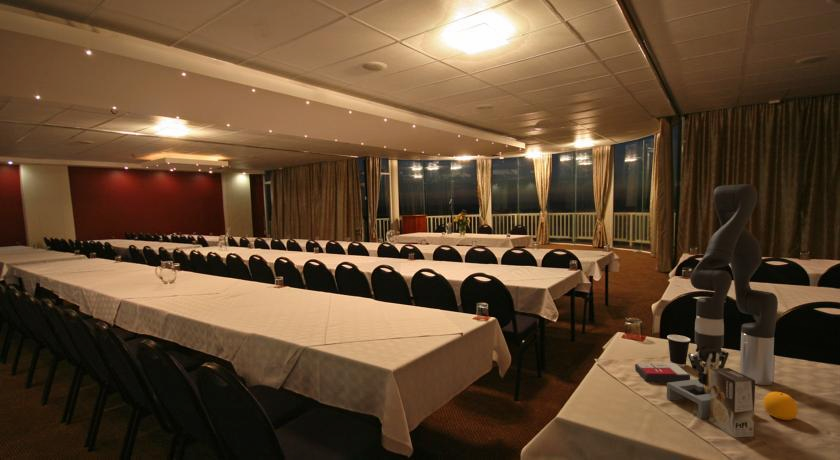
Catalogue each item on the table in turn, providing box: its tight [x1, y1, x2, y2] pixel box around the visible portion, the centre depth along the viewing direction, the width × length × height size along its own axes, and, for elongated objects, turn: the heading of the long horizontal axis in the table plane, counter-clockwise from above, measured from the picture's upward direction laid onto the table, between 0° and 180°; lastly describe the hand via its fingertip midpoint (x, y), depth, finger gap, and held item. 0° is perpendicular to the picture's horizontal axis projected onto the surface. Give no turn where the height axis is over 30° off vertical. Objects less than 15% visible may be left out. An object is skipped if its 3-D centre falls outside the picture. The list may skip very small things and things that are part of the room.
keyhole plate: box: [666, 378, 710, 419], centre depth 130 cm, size 18×13×6 cm
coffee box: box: [708, 367, 756, 438], centre depth 116 cm, size 9×6×16 cm
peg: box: [702, 365, 717, 394], centre depth 130 cm, size 5×5×12 cm
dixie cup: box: [666, 334, 691, 368], centre depth 163 cm, size 8×8×11 cm
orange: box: [762, 391, 799, 421], centre depth 122 cm, size 8×8×8 cm
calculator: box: [634, 362, 691, 384], centre depth 151 cm, size 11×4×15 cm
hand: (707, 382), depth 130 cm, fingers closed on peg, 3 cm apart
